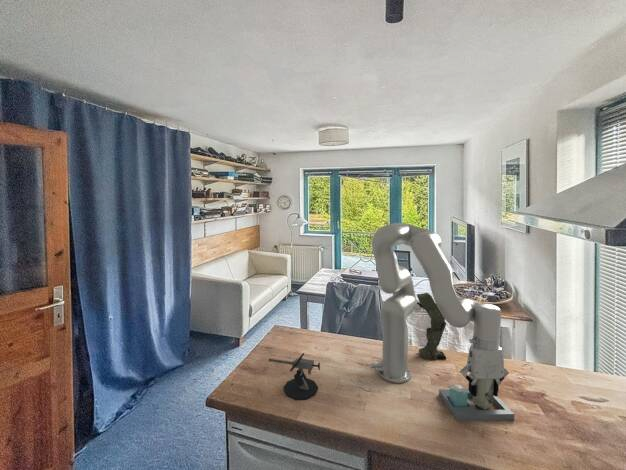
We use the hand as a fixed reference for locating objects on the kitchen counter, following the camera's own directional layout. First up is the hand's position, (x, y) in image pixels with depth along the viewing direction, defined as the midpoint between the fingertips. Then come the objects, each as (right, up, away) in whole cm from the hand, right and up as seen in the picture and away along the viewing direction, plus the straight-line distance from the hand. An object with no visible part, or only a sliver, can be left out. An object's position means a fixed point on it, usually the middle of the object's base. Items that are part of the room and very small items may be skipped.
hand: (483, 393), depth 101 cm
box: (0, -4, 0) cm, 4 cm away
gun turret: (-64, -4, +11) cm, 65 cm away
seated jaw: (-8, -5, 0) cm, 10 cm away
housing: (-3, -5, 0) cm, 5 cm away
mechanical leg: (-4, -1, +34) cm, 34 cm away
